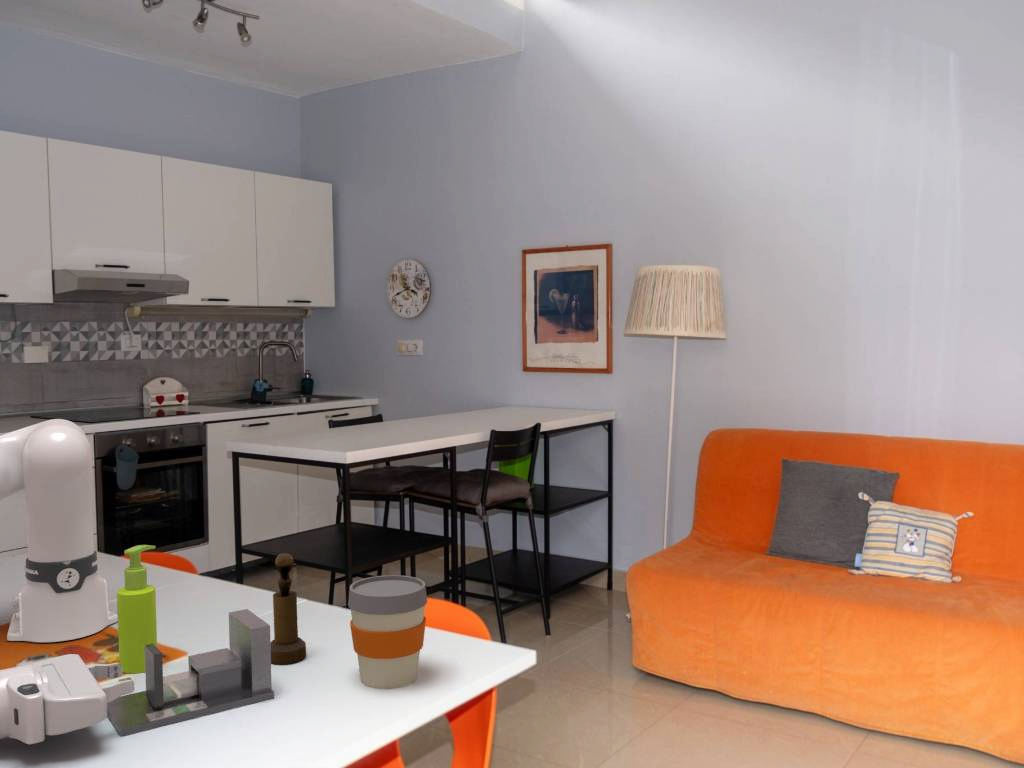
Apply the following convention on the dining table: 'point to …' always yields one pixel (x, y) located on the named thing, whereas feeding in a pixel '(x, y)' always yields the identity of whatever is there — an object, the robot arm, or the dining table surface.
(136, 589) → the soap dispenser
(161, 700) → the plunger
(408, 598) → the reusable coffee cup
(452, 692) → the dining table surface
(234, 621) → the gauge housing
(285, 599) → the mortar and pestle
